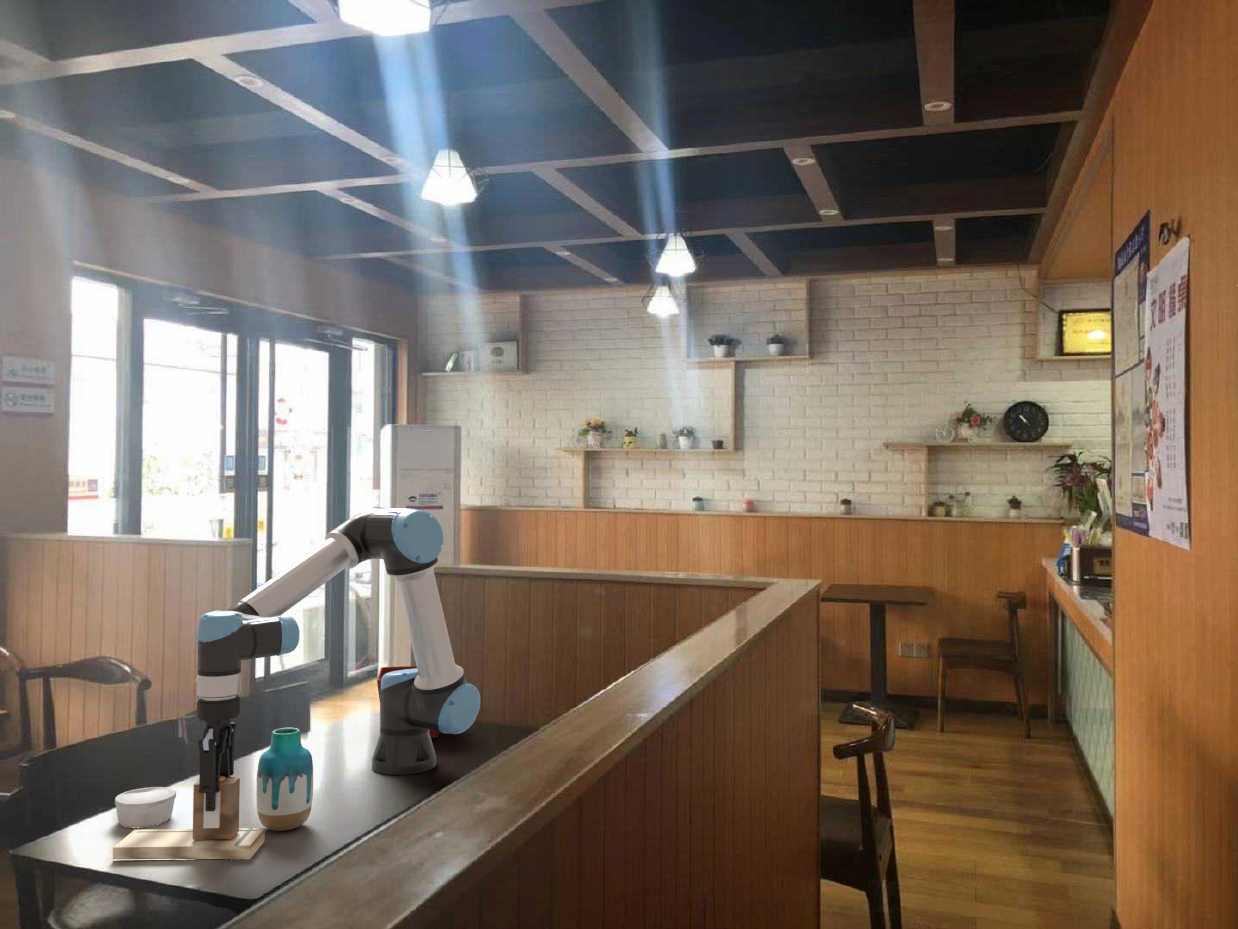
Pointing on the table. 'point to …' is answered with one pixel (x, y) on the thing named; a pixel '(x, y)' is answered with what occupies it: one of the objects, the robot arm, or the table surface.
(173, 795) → the ramekin
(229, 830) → the tan boxy wooden piece
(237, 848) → the board
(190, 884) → the table surface
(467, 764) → the table surface
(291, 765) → the vase
